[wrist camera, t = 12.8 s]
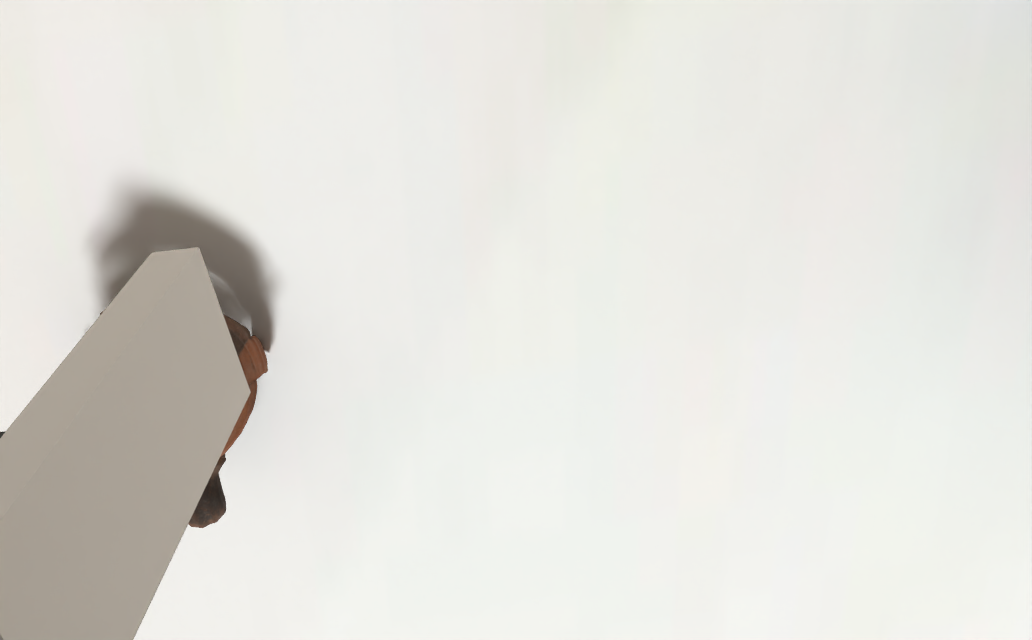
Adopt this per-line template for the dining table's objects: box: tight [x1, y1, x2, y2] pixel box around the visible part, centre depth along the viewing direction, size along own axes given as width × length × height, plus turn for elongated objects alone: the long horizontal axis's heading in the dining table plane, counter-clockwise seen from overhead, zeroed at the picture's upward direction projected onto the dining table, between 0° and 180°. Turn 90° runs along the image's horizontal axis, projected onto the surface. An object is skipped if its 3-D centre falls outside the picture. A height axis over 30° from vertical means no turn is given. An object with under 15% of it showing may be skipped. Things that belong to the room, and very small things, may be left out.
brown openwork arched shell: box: [100, 312, 268, 528], centre depth 46 cm, size 12×10×8 cm
